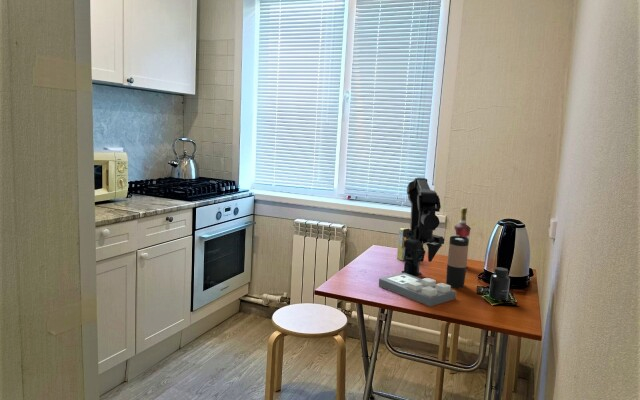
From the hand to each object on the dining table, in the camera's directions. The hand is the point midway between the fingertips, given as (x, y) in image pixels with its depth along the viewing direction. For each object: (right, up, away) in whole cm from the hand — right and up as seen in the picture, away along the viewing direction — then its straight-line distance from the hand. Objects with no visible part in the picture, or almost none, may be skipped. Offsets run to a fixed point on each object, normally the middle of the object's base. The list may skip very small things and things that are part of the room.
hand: (422, 263), depth 182 cm
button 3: (0, -11, -9) cm, 15 cm away
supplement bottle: (+28, -14, -3) cm, 31 cm away
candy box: (+2, -5, +47) cm, 48 cm away
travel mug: (+16, -11, +11) cm, 22 cm away
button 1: (-4, -10, -4) cm, 12 cm away
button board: (-3, -11, +1) cm, 12 cm away
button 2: (+2, -10, +1) cm, 10 cm away
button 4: (+7, -11, -4) cm, 13 cm away
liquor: (+26, -7, +39) cm, 47 cm away
